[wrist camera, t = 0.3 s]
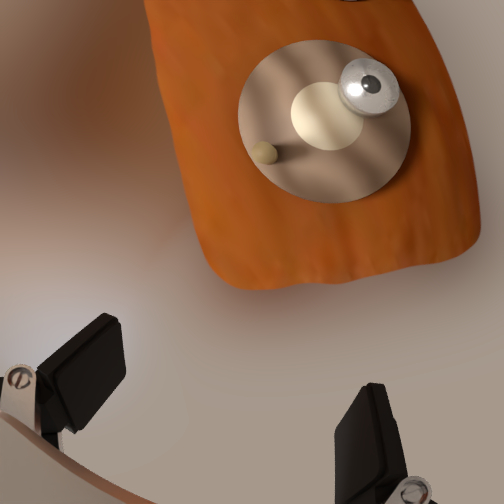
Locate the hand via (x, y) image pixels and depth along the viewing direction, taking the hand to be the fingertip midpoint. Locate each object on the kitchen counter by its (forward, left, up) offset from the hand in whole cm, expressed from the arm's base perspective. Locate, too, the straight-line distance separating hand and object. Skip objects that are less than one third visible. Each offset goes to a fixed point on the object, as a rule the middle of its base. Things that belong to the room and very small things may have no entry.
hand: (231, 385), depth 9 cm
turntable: (-13, -9, -28) cm, 32 cm away
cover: (-19, -9, -27) cm, 34 cm away
